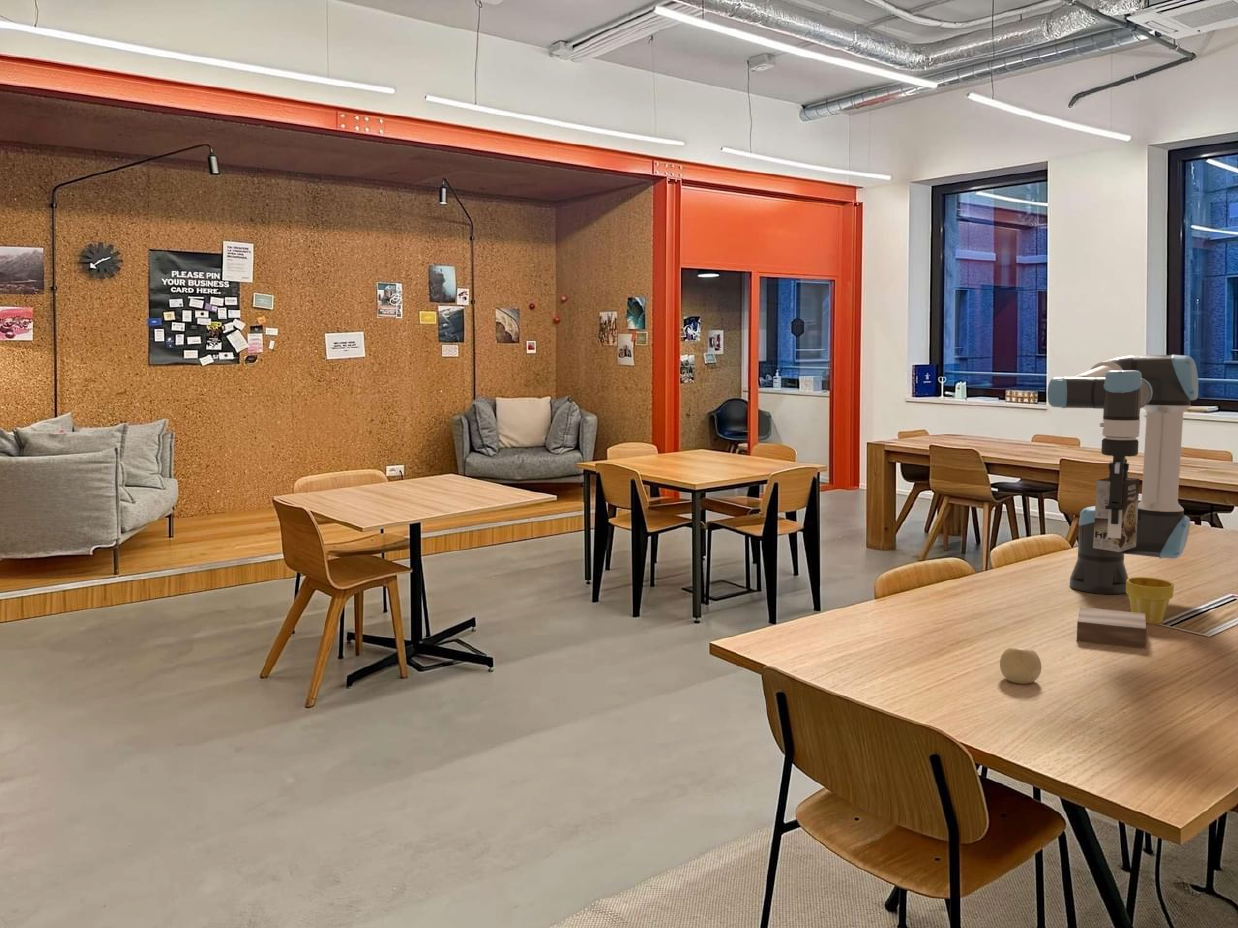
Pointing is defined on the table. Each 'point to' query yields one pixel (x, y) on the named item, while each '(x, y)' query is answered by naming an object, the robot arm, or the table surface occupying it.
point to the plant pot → (1149, 597)
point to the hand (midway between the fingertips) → (1115, 533)
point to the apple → (1020, 665)
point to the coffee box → (1128, 516)
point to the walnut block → (1111, 627)
